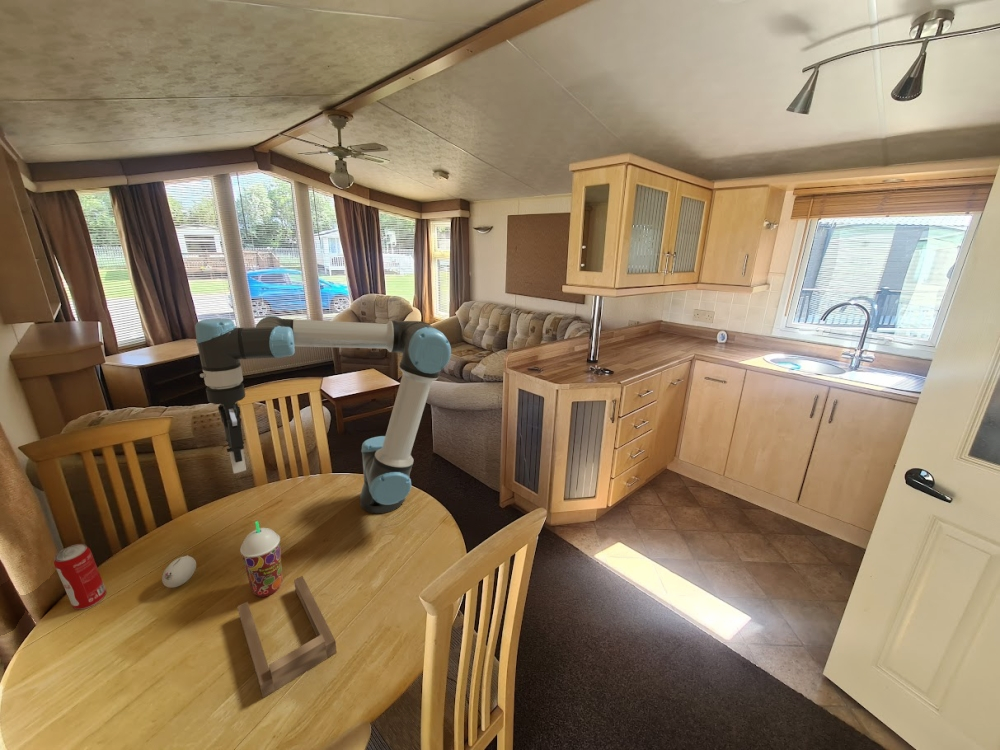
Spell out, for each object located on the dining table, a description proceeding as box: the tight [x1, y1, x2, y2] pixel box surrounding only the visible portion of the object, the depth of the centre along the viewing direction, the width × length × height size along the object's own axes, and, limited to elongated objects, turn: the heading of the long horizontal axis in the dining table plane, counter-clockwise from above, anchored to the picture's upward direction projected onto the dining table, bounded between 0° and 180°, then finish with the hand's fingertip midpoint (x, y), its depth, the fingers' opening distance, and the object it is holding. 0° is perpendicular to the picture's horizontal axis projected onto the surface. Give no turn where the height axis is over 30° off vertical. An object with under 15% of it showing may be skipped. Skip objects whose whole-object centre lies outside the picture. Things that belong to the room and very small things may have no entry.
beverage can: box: [53, 543, 107, 610], centre depth 91 cm, size 6×6×15 cm
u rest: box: [237, 575, 338, 699], centre depth 87 cm, size 14×22×5 cm, turn 42°
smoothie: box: [239, 520, 284, 598], centre depth 96 cm, size 8×8×20 cm
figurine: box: [161, 554, 197, 588], centre depth 98 cm, size 8×6×7 cm
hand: (239, 470), depth 101 cm, fingers closed
